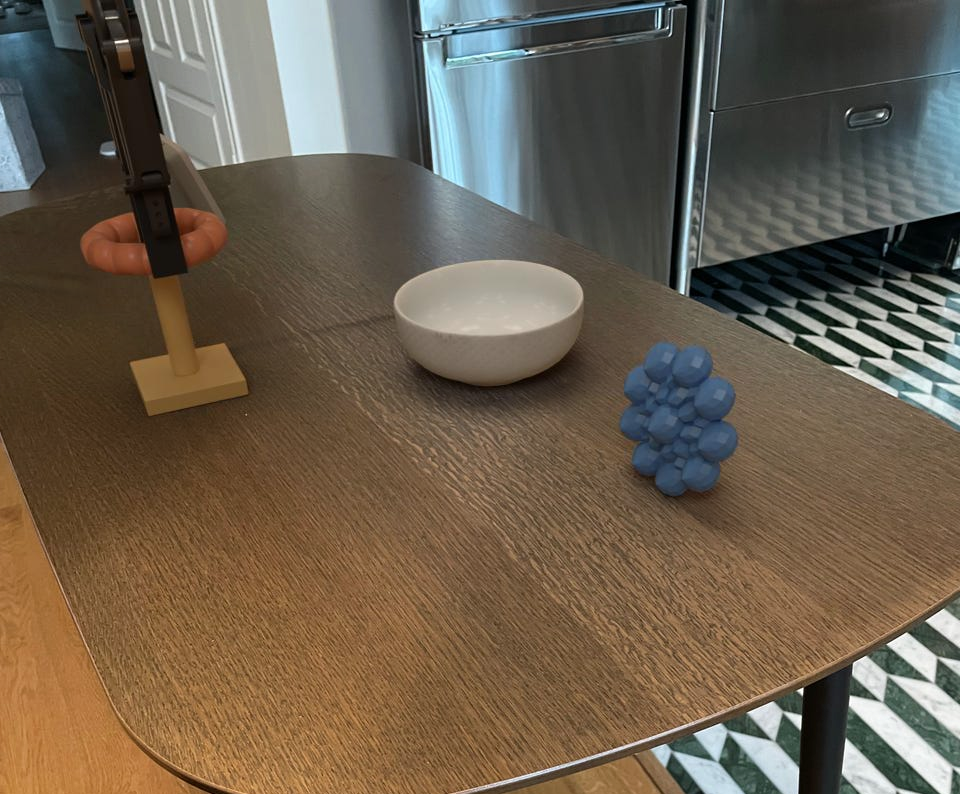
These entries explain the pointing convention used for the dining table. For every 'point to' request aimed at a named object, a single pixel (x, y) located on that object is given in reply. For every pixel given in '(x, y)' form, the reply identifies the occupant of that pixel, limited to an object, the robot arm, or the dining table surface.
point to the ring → (122, 255)
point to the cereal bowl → (489, 320)
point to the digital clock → (187, 181)
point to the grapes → (678, 418)
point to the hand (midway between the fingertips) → (166, 267)
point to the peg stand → (183, 361)
